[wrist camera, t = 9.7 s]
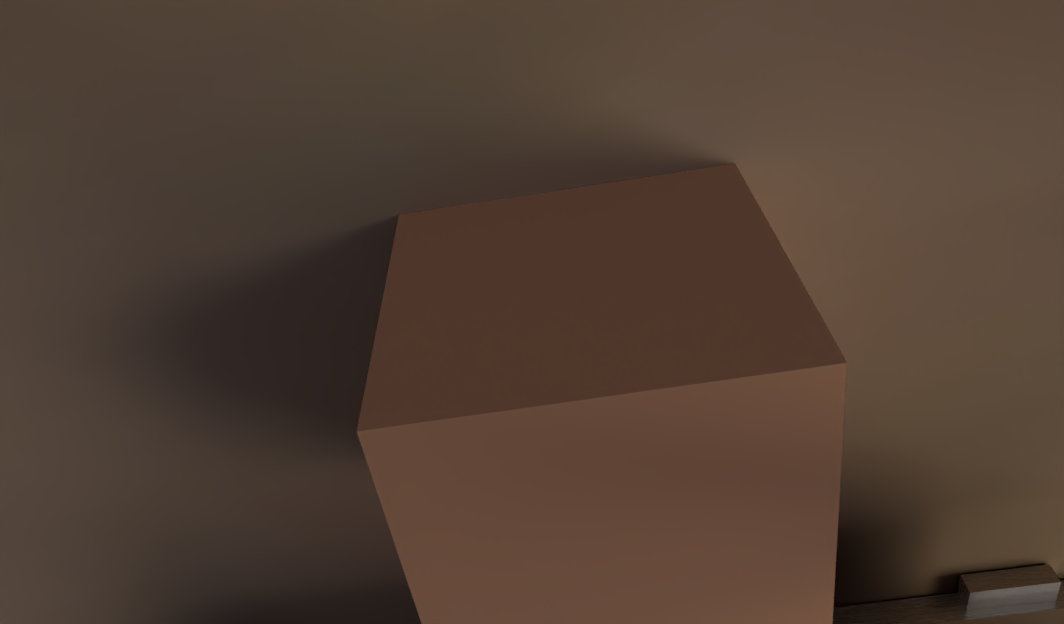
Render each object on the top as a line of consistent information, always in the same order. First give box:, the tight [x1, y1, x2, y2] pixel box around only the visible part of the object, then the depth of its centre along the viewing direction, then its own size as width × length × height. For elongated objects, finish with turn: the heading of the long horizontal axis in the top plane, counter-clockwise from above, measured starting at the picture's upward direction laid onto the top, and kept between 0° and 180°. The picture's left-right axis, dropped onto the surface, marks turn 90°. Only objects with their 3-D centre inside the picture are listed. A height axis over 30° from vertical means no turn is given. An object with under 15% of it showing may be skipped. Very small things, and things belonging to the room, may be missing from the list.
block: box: [357, 164, 847, 624], centre depth 11 cm, size 4×4×4 cm
